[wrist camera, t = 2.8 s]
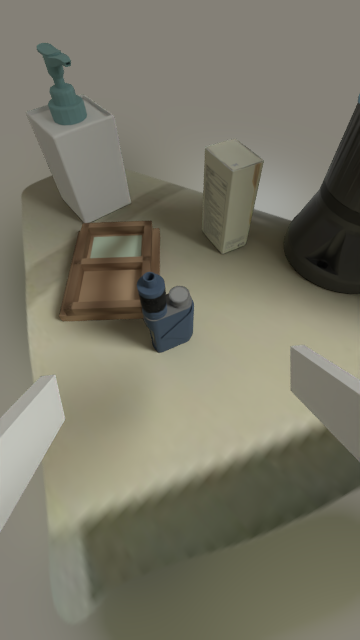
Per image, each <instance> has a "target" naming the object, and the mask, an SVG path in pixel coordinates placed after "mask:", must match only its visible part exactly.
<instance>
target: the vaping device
mask: <svg viewBox="0 0 360 640" xmlns="http://www.w3.org/2000/svg"><path fill="white" fill-rule="evenodd" d="M137 290H138V294H139V298H140V302H141V306H142V313H143V316H144V318H143V319H144V322H145V324H146V326H147V327H148V328H149V329H150V334H151V338H152V344H153V346H154V348H155V349H156V350H157V351H158V352H164V351H166V350H169V349H171V348H173V347H176V346H178V345H180V344H183V343H185V342H187V341H188V340H189V339H190V337H191V336H192V334H193V316H194V303H193V300H192V298H191V296H190V293H189V290H188V289H187V288H185V287H183V286H176V287H173V288H172V289H171V290H170V291H169V294H166V292H165V283H164V280H163V278H162V277H161V276H160V275H158V274H155V273H153V272H146V273H145V274H144V275H143V276H142V277H140V278H139V280H138V281H137Z"/></svg>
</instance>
